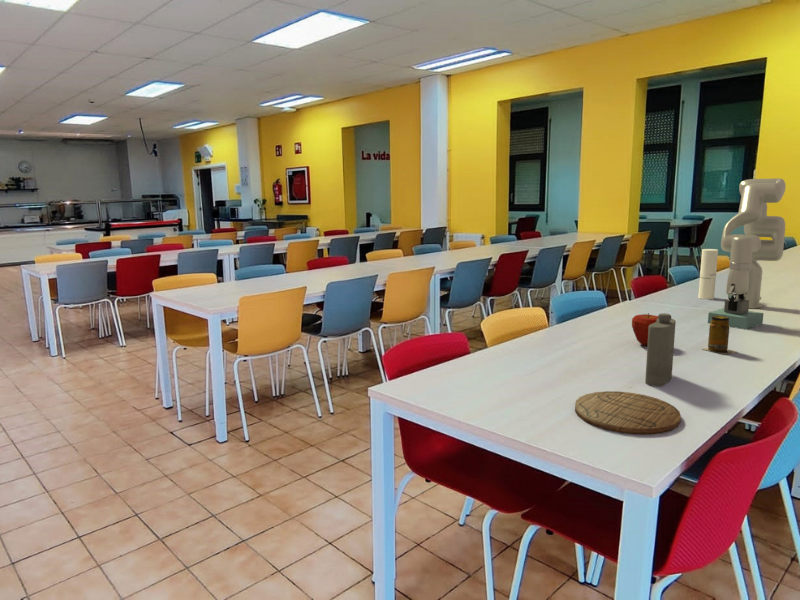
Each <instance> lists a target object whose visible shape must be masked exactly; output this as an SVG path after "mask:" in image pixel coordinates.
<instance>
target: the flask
mask: <svg viewBox="0 0 800 600" xmlns="http://www.w3.org/2000/svg"><path fill="white" fill-rule="evenodd" d="M657 316H658V319H657V321H656V322H655V323H653V324H650V325H649V330H648V346H647V345H646V346H647V348H646V349H647V350H646V364H645V366H646V367H645V380H644V381H645V384H646V385H648V386H652V387H662V386H665V385H666V384H668V383H669V382H671V380H672V378H673V363H674V352H675V350H674V349H675V338H676V337H675V335H676V322H677V321H676V320H675V319H674V318H672V315H671V314H669V313H666V312H664V313H659V314H658V315H657Z"/></svg>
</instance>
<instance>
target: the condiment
mask: <svg viewBox="0 0 800 600" xmlns="http://www.w3.org/2000/svg"><path fill="white" fill-rule="evenodd" d="M711 322H712V323H709V330H708V340H707V341H708V342H707V347H706V348H705V347H703V348H702V350H704V351H708V352H713V353H717V354H721V355H730V354H735V353H738V351H736V350H733V349H728V347H729V338H730V327H729V318H728V317H725V316H713V317H712V321H711ZM707 348H708V349H707Z"/></svg>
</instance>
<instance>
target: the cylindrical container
mask: <svg viewBox="0 0 800 600" xmlns="http://www.w3.org/2000/svg"><path fill="white" fill-rule="evenodd" d="M718 253H719V249H715V248H703V249H701V259H700V260H701V261H700V272H699V285H698V299H699V298H701V299H700V300H705V299H712V300H715V291H716V282H717V281H716V279H717V270H718V269H717V266H718V257H719V256H718V255H719V254H718Z"/></svg>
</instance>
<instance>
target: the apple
mask: <svg viewBox="0 0 800 600" xmlns="http://www.w3.org/2000/svg"><path fill="white" fill-rule="evenodd" d="M657 319H658V315H655V314H654V315H653V314H650V313H647V314H645V313H644V314H636V315H634V316H633V317H632V318H631V328H632V331H633V333H634V335H635V338H636V340H637V342H638V343H639V344H641V345H642V346H648V330H649V325H650V324H653V323H655V322H656V321H657Z"/></svg>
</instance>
